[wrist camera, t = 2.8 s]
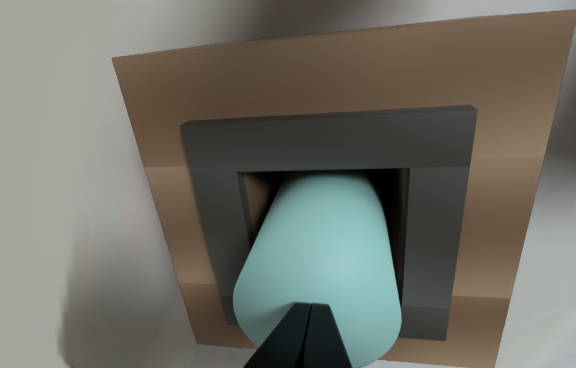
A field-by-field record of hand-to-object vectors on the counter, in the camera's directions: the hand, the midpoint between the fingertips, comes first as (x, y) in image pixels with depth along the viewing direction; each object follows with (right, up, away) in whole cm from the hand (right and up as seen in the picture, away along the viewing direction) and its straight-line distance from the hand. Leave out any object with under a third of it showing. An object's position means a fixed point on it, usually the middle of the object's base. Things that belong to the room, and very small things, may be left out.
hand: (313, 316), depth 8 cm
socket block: (+2, +4, +9) cm, 10 cm away
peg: (+1, +3, +5) cm, 6 cm away
